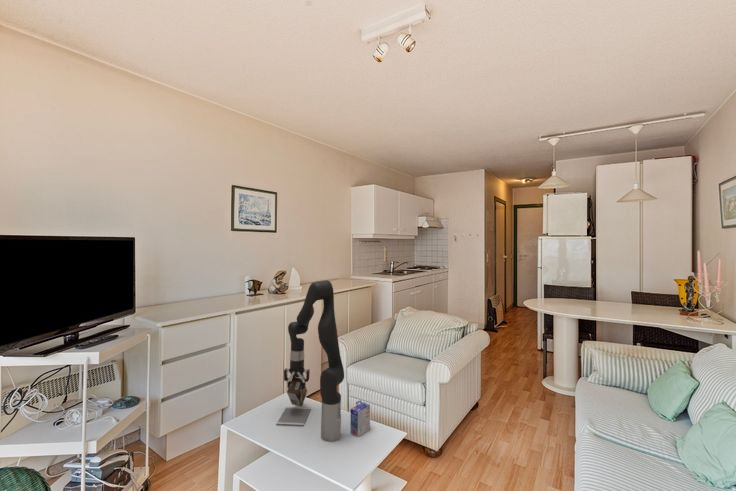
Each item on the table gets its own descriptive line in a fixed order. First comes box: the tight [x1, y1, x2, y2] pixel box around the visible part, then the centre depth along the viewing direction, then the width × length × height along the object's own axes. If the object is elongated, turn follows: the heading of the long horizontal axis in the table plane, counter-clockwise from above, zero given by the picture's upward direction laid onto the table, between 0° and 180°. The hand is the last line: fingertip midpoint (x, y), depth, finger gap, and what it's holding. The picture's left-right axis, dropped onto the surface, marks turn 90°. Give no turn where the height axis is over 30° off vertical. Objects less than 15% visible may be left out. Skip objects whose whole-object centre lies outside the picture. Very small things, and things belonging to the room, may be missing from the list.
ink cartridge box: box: [350, 399, 371, 438], centre depth 168 cm, size 10×6×14 cm, turn 142°
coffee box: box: [286, 377, 308, 408], centre depth 186 cm, size 9×6×16 cm
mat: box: [276, 406, 312, 427], centre depth 180 cm, size 14×18×1 cm
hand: (296, 388), depth 182 cm, fingers closed on coffee box, 7 cm apart
